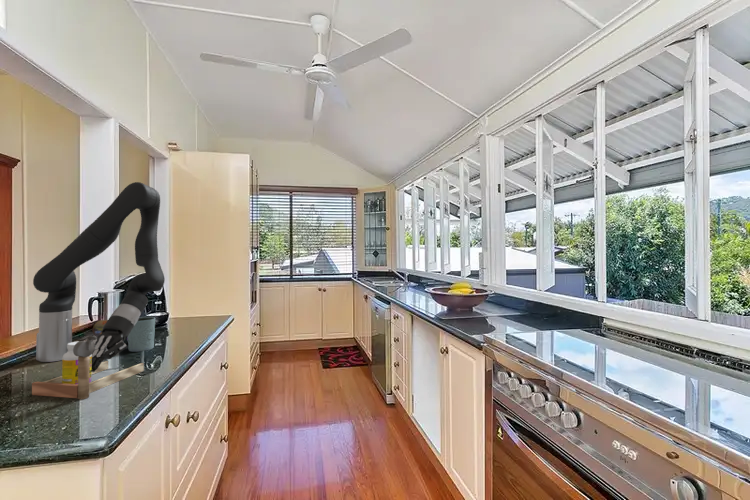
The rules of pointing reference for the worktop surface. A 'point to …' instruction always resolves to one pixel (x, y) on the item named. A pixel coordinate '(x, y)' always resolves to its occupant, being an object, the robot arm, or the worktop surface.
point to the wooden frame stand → (83, 376)
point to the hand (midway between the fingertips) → (89, 370)
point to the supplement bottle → (72, 366)
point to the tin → (98, 327)
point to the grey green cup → (142, 335)
